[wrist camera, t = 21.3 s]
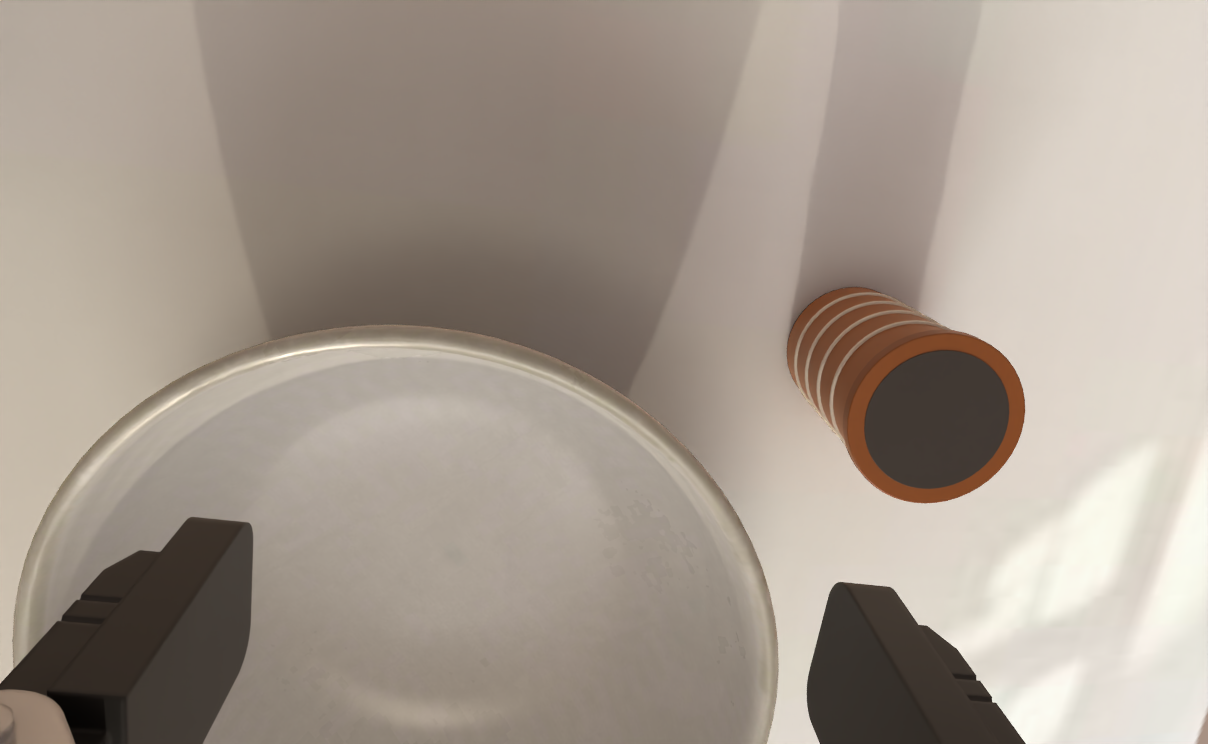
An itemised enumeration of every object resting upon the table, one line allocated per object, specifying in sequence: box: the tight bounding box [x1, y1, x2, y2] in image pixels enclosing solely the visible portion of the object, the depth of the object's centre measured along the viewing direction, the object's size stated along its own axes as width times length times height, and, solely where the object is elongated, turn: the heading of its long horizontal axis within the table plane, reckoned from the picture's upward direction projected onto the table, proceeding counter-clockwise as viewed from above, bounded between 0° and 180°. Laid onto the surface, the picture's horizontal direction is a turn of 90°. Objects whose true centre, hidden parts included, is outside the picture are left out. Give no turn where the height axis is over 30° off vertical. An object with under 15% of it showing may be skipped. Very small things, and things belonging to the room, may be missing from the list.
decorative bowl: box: [13, 325, 778, 744], centre depth 37 cm, size 27×27×12 cm
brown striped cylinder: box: [787, 287, 1025, 503], centre depth 36 cm, size 10×6×6 cm
